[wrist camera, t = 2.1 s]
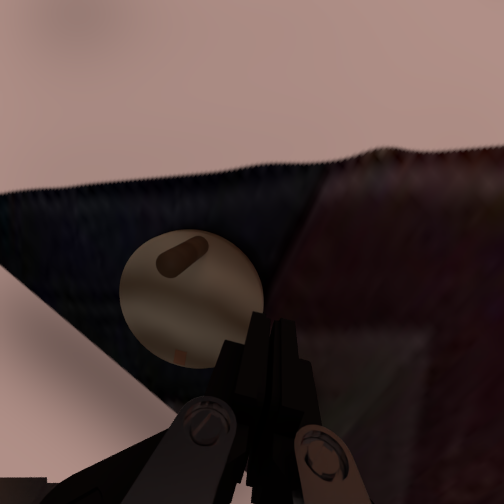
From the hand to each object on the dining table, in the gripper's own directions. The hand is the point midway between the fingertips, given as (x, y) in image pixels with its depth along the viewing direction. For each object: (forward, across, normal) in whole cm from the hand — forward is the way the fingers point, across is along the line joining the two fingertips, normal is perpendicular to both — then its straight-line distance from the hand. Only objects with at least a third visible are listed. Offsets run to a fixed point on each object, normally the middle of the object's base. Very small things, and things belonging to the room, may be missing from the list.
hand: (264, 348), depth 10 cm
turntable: (+14, +7, +6) cm, 16 cm away
